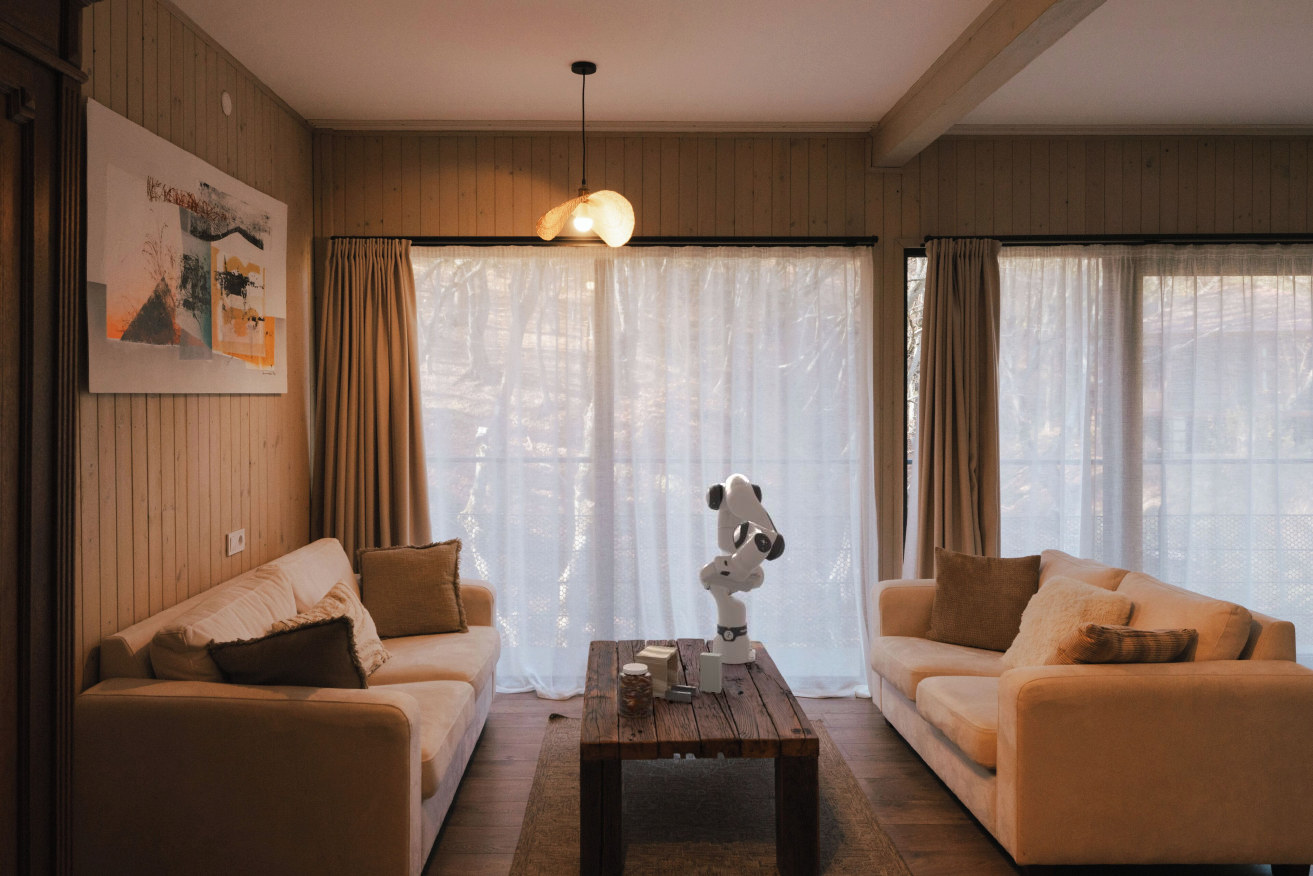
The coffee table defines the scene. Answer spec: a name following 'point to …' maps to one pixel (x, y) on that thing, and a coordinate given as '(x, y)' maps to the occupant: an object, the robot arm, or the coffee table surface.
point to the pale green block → (711, 672)
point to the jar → (635, 691)
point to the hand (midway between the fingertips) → (717, 590)
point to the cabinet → (660, 667)
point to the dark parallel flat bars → (680, 693)
